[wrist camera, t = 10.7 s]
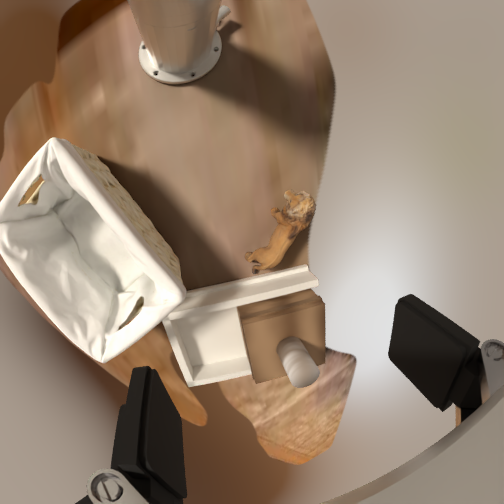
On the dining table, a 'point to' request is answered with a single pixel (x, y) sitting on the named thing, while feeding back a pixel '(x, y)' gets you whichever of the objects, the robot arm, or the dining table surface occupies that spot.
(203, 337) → the bay
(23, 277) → the storage basket
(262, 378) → the tan block with peg
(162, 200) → the dining table surface
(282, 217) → the lion figurine
